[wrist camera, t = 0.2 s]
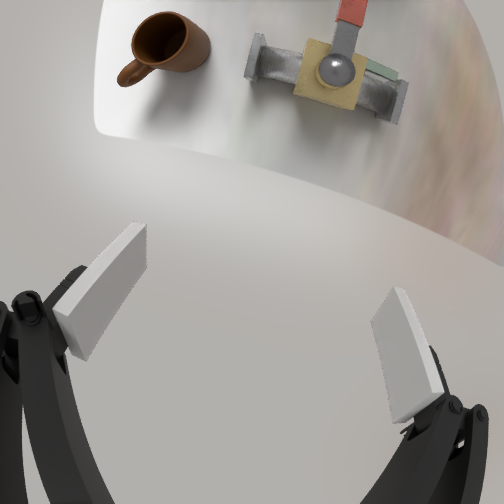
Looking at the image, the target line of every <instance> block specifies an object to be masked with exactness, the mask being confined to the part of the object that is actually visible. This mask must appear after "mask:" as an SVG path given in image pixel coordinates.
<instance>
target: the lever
mask: <svg viewBox="0 0 504 504" xmlns="http://www.w3.org/2000/svg"><path fill="white" fill-rule="evenodd" d="M367 2H368V0H340V4H339V8H338V12H337V16H336V20H335V22H337V25H336V29H335V33H334V37H333V41H332V45H331V49H330V53H329V55H327V56H326V57H324V58H323V60H322V61H321V62H320V64H319V67H318V72H319V75H320V77H321V79H322V80H323V81H324V82H325V83H326V84H328V85H330V86H333V87H341V86H345V85H348V84H350V83H351V82H352V81H353V80H354V78H355V74H356V70H355V66H354V64H353V62H352V61H351V60H352V56H353V52H354V48H355V44H356V40H357V36H358V32H359V29H360V28H361V27H362V25H363V20H364V16H365V11H366V7H367Z"/></svg>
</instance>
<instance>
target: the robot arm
mask: <svg viewBox="0 0 504 504" xmlns="http://www.w3.org/2000/svg"><path fill="white" fill-rule="evenodd" d="M146 268H147V267H146V224H142V223H139V222H134V221H133V222H132V223H131V224H130V225H129V226H128V227H127V228H126V229H125V230H124V231H123V232H122V233H121V234H120V235H119V236H118V237H117V238H116V239H115V240H114V241H113V242H112V243H111V244H110V245H109V246H108V247H107V248H106V249H105V250H104V251H103V252H102V253H101V254H100V255H99V256H98V257H97V258H96V259H95V260H94V261H93V263H91V265H90V266H89V267H86V266H83V265H81V266H79V267H77V268H76V269H74V270H72V271H71V272H70V273H69V274H68V275H67V276H66V277H65V279H64V280H63V281H62V282H61V283H60V285H58V286H57V287H56V288H55V290H54V291H53V292H52V293H51V294H50V295H49V296H48V298H47V299H46V300H45V301H44V302H43V303H42V301H41V298H40V295H39V294H38V293H37V292H34V291H24V292H21V293H20V294H18V295H17V296H16V297H15V298H14V300H13V301H12V305H11V307H12V309H13V311H14V312H11V311H9V310H8V308H7V306H6V304H5V303H4V302H2V301H0V504H28V499H27V493H26V486H25V478H24V469H23V457H22V408H24V414H25V419H26V425H27V430H28V434H29V439H30V443H31V447H32V451H33V455H34V458H35V461H36V465H37V468H38V471H39V474H40V477H41V480H42V483H43V486H44V489H45V491H46V494H47V496H48V499H49V501H50V504H115V503H114V501H113V499H112V497H111V495H110V493H109V491H108V489H107V487H106V485H105V483H104V481H103V479H102V476H101V474H100V472H99V470H98V467H97V465H96V462H95V460H94V457H93V455H92V452H91V450H90V447H89V444H88V441H87V438H86V435H85V432H84V429H83V426H82V423H81V420H80V416H79V413H78V409H77V405H76V402H75V398H74V394H73V389H72V385H71V380H70V376H69V371H68V366H67V360H66V355H65V353H64V352H65V350H66V349H67V347H69V349H70V351H71V354H72V355H74V356H76V357H78V358H80V359H82V360H84V361H87V359H88V358H89V356H90V354H91V353H92V351H93V349H94V348H95V346H96V344H97V343H98V341H99V339H100V338H101V336H102V335H103V333H104V331H105V330H106V328H107V326H108V325H109V323H110V322H111V320H112V319H113V317H114V315H115V314H116V312H117V311H118V309H119V308H120V306H121V305H122V303H123V302H124V300H125V299H126V297H127V296H128V294H129V293H130V291H131V290H132V288H133V287H134V285H135V284H136V283H137V281H138V280H139V278H140V277H141V275H142V274H143V273H144V271H145V270H146ZM371 324H372V328H373V332H374V336H375V340H376V344H377V348H378V352H379V356H380V360H381V365H382V370H383V374H384V379H385V383H386V389H387V394H388V400H389V405H390V411H391V417H392V423H393V424H396V423H405V422H407V421H408V420H410V419H411V418H412V417H414V423H412V424H411V425H409V426H408V427H406V428H405V429H403V430H402V431H401V432H400V434H402V433H404V432H405V431H407V433H406V434H405V435H404V438H403V440H402V442H401V443H400V445H399V447H398V449H397V451H396V452H395V454H394V455H393V457H392V459H391V460H390V462H389V463H388V465H387V467H386V468H385V470H384V471H383V473H382V474H381V476H380V477H379V479H378V480H377V481H376V483H375V484H374V486H373V487H372V488H371V490H370V491H369V492H368V494H367V495H366V496H365V498H364V499H363V500H362V502H361V503H360V504H479V501H480V496H481V491H482V486H483V480H484V474H485V466H486V458H487V446H488V424H489V423H488V421H489V418H488V413H487V410H486V409H485V407H484V406H482V405H480V404H477V405H475V406H474V407H473V408H472V409H467V408H464V407H463V405H462V403H461V401H460V400H459V399H458V398H457V397H456V396H454V395H450V392H449V389H448V386H447V383H446V380H445V377H444V374H443V371H441V370H442V368H441V365H440V364H439V360H438V357H437V354H436V353H435V351H434V350H433V348H432V347H431V346H429V345H428V343H427V340H426V338H425V335H424V333H423V330H422V328H421V325H420V323H419V321H418V318H417V316H416V314H415V311H414V309H413V307H412V304H411V302H410V300H409V298H408V296H407V294H406V292H405V289H403V288H400V287H395V286H393V288H392V289H391V291H390V293H389V294H388V296H387V297H386V299H385V301H384V302H383V304H382V305H381V307H380V308H379V310H378V311H377V313H376V314H375V316H374V317H373V319H372V320H371ZM463 440H464V445H463V446H462V447H460V448H458V444H459V443H460V442H462V441H463Z"/></svg>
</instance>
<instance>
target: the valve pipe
mask: <svg viewBox="0 0 504 504" xmlns="http://www.w3.org/2000/svg"><path fill="white" fill-rule="evenodd" d="M330 49H331V45H330V44H327V43H323V42H320V41H317V40H313V39H309V38H308V40H307V43H306V46H305V49H304V52H303V54H299V53H295V52H291V51H287V50H282V49H278V48H273V47H268V46H267V43H266V40H265V37H264V34H260V33H255V34H254V38H253V41H252V45H251V49H250V53H249V57H248V61H247V65H246V69H245V73H244V78H246V79H248V80H249V81H252V82H257V81H258V77H259V76H261V77H266V78H271V79H275V80H279V81H284V82H288V83H292V84H295V87H294V90H293V94H294V95H298V96H302V97H305V98H309V99H312V100H315V101H319V102H322V103H325V104H328V105H331V106H334V107H337V108H340V109H346V110H354V109H355V105H356V104H358V105H361V106H363V107H366V108H368V109H371V110H373V111H375V112H377V114H376V117H375V118H376V119H378V120H381V121H384V122H388V123H392V124H396V125H397V123H398V120H399V116H400V113H401V110H402V106H403V102H404V99H405V95H406V91H407V87H408V84H409V83H408V82H406V81H404V80H402V79H401V80H397V76H398V72H396V71H394V70H392V69H390V68H388V67H385V66H383V65H381V64H379V63H376V62H374V61H372V60H369V59H368V58H366V57H364V56H361V55H359V54H356V53H353V56H352V60H351V61H352V62H353V64H354V66H355V70H356V74H355V78H354V80H353V81H352V82H351V83H350V84H348V85H345V86H341V87H333V86H330V85H328V84H326V83H325V82H324V81H323V80H322V79H321V77H320V75H319V72H318V67H319V64H320V62H321V61H322V60H323V58H324V57H326V56H327V55H329V53H330ZM365 69H368V70H370V71H372V72H375V73H377V74H379V75H382V76H384V77H386V78H388V79H391V80H393V81H387V82H385V83H383V82H380V81H378V80H376V79H373V78H371V77H369V76H366V75H364V72H365Z"/></svg>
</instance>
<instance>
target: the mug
mask: <svg viewBox="0 0 504 504" xmlns="http://www.w3.org/2000/svg"><path fill="white" fill-rule="evenodd" d="M131 48H132V52H133V55H134V57H135V58H136V59H135V60H133V61H132V62H131V63H129V64H128V65H127V66H125V67H124V68H123V69H122V71H121V72H120V74H119V75H118V77H117V83H118V84H119V85H120V86H121V87H129V86H132V85H134V84H136V83H138V82H139V81H141V80H142V79H143V78H145V77H146V76H147V75H148V74H149V73H150V72H152V71H153V70H155V69H163V70H168V71H174V72H187V71H191V70H193V69H195V68H197V67H199V66H200V65H201V64H202V63H203V62H204V61H205V60H206V58H207V57H208V55H209V52H210V40H209V37H208V35H207V34H206V33H205V32H204V31H203V30H202V29H201V28H199V27H198V26H197V25H196V24H194V23H193V22H192V21H190V20H189V19H188V18H186V17H184V16H182V15H180V14H178V13H175V12H169V11H168V12H160V13H156V14H154V15H152V16H150V17H148V18H147V19H145V20H144V21H143V22H142V23H141V24H140V25H139V26H138V28H137V29H136V31H135V33H134V35H133V38H132V43H131Z"/></svg>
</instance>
